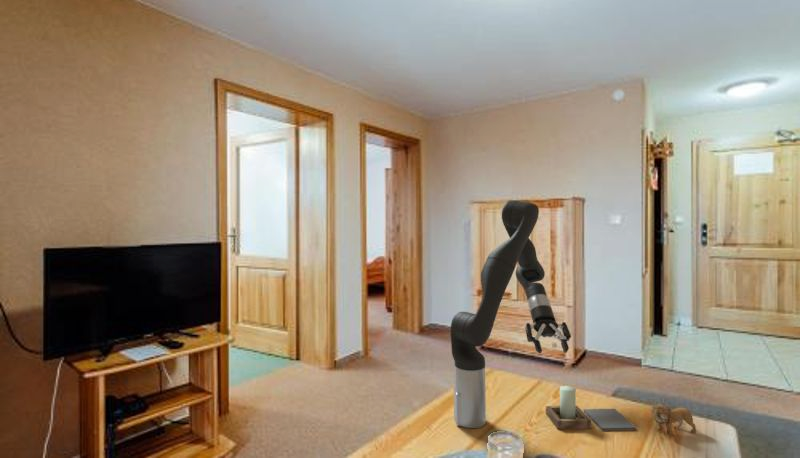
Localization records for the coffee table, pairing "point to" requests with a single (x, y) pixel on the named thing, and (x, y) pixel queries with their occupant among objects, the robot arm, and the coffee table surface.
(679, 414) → the lion figurine
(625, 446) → the coffee table surface
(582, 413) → the walnut pocket frame
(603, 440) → the coffee table surface
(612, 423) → the charcoal mat
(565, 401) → the sage wooden peg
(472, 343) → the robot arm
